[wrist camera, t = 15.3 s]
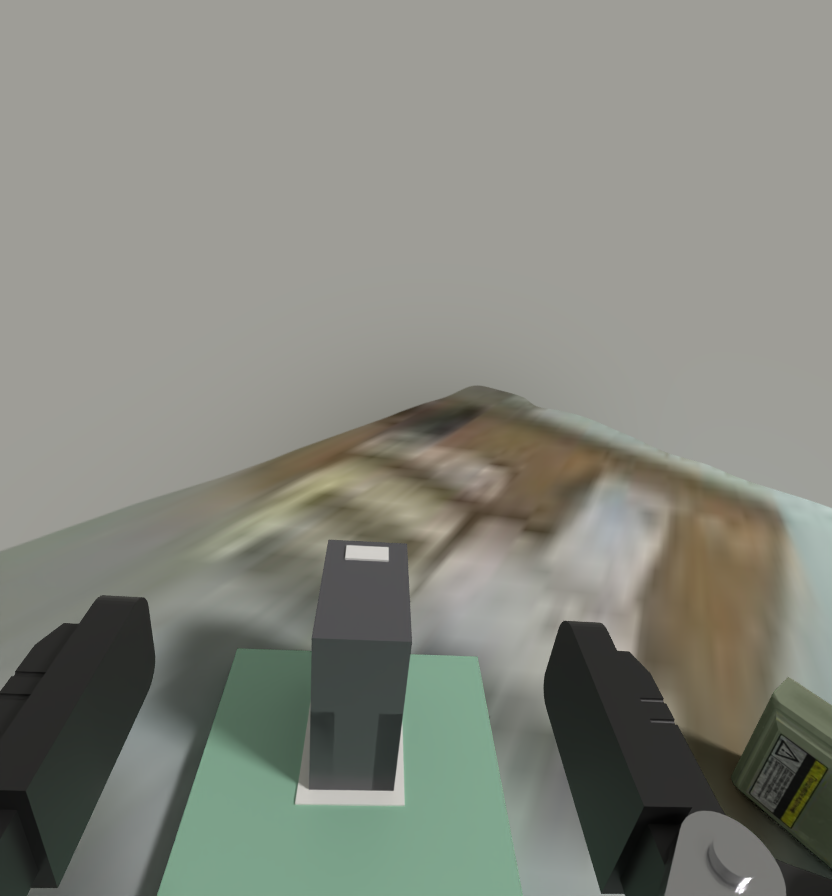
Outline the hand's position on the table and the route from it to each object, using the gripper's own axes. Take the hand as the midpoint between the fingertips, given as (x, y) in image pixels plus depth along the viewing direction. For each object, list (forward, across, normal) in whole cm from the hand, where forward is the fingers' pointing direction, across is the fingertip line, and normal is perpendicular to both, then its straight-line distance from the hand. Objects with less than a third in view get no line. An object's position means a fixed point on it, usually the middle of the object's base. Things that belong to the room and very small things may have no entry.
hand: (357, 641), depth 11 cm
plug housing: (+10, 0, +17) cm, 20 cm away
